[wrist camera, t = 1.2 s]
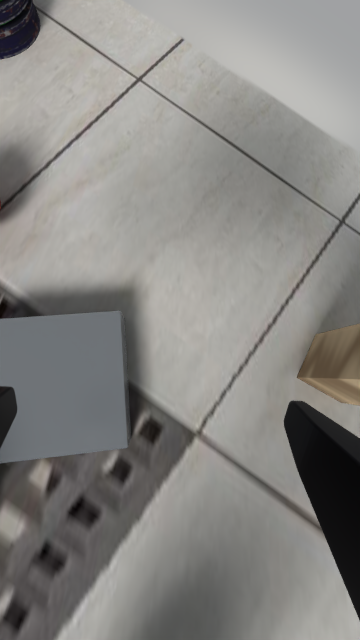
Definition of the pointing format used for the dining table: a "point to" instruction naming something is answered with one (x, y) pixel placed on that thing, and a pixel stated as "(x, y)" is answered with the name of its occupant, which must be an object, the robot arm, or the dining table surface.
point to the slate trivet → (65, 384)
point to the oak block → (335, 364)
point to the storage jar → (17, 26)
